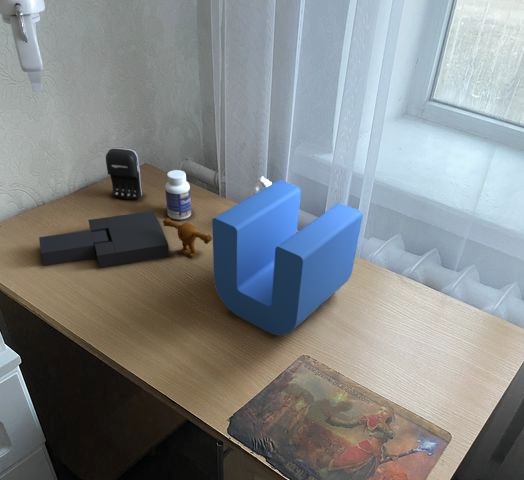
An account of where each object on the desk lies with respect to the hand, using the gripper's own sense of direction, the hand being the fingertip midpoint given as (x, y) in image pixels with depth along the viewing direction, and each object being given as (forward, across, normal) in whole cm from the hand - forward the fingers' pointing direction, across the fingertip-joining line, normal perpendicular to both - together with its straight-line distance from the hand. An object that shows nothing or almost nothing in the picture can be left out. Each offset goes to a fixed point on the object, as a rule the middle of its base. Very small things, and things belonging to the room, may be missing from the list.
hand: (36, 82), depth 103 cm
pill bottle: (+27, -9, -24) cm, 37 cm away
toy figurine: (+27, -25, -22) cm, 43 cm away
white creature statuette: (+27, -20, -39) cm, 52 cm away
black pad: (+27, -18, -11) cm, 34 cm away
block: (+27, -45, -35) cm, 63 cm away
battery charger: (+27, +2, -14) cm, 31 cm away
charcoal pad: (+27, -18, 0) cm, 33 cm away
